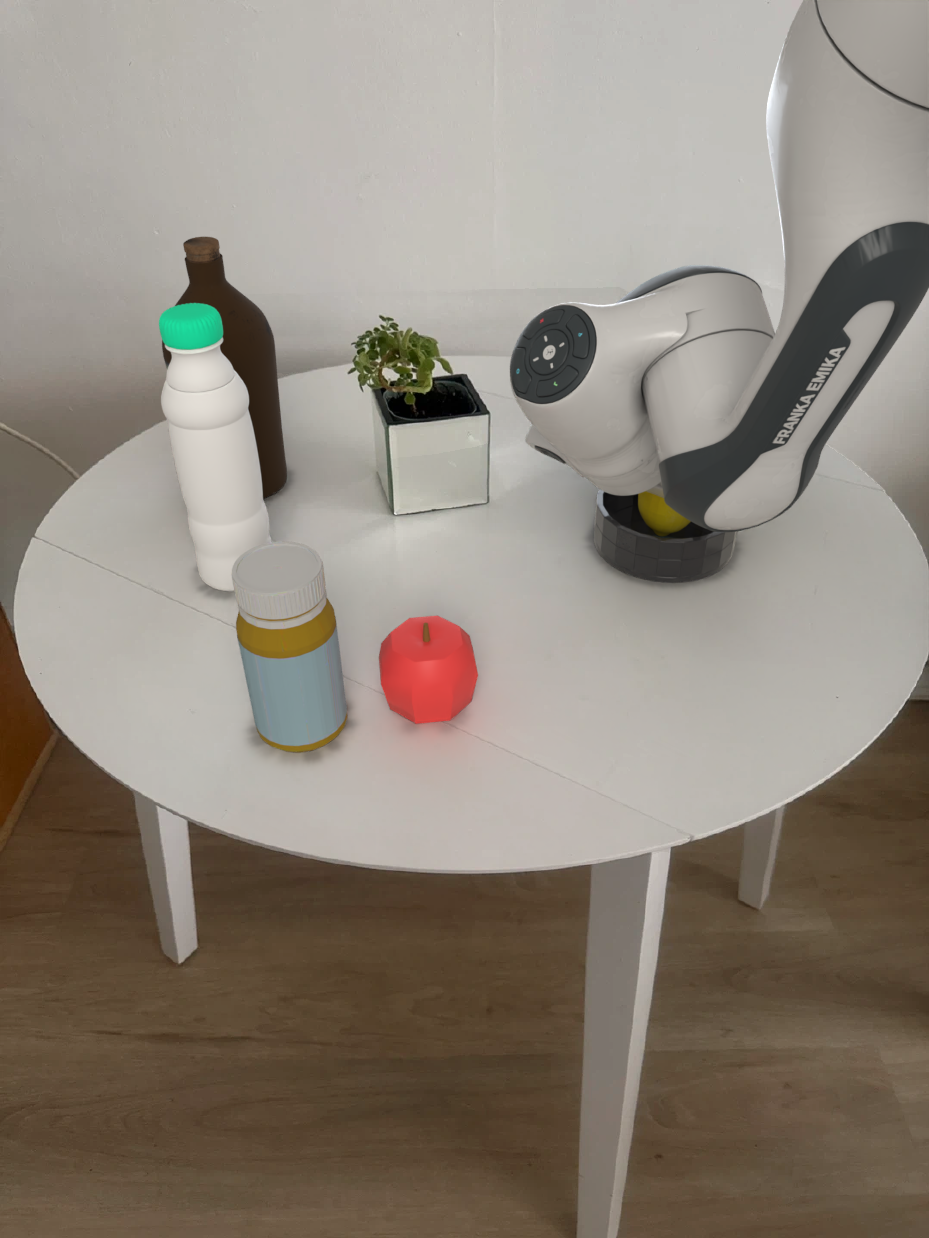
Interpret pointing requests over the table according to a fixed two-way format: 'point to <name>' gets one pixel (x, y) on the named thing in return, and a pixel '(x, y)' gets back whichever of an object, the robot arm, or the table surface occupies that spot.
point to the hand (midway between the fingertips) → (672, 492)
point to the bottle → (289, 646)
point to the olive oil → (241, 352)
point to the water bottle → (212, 443)
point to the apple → (428, 669)
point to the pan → (656, 544)
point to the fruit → (660, 514)
